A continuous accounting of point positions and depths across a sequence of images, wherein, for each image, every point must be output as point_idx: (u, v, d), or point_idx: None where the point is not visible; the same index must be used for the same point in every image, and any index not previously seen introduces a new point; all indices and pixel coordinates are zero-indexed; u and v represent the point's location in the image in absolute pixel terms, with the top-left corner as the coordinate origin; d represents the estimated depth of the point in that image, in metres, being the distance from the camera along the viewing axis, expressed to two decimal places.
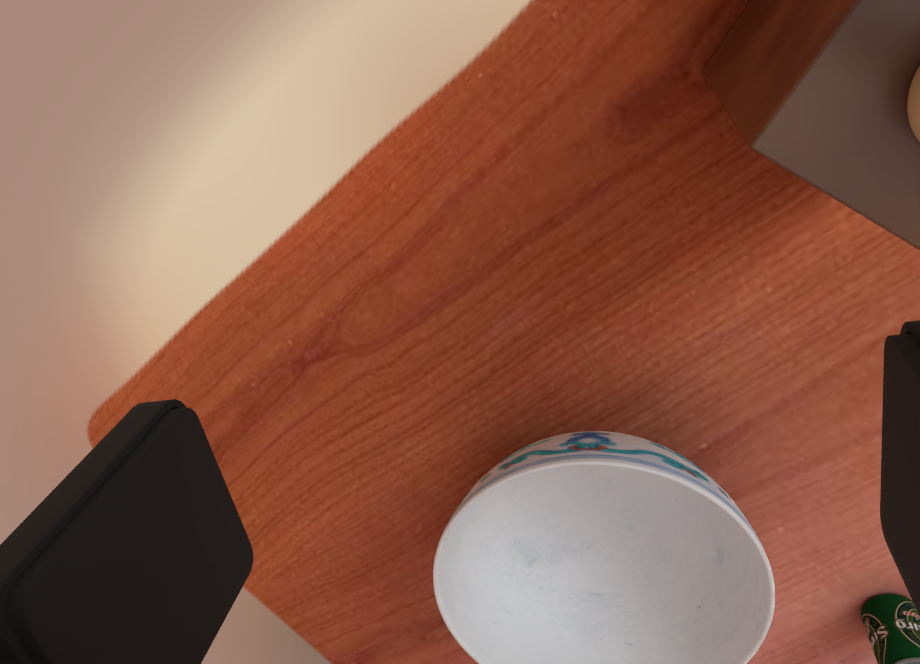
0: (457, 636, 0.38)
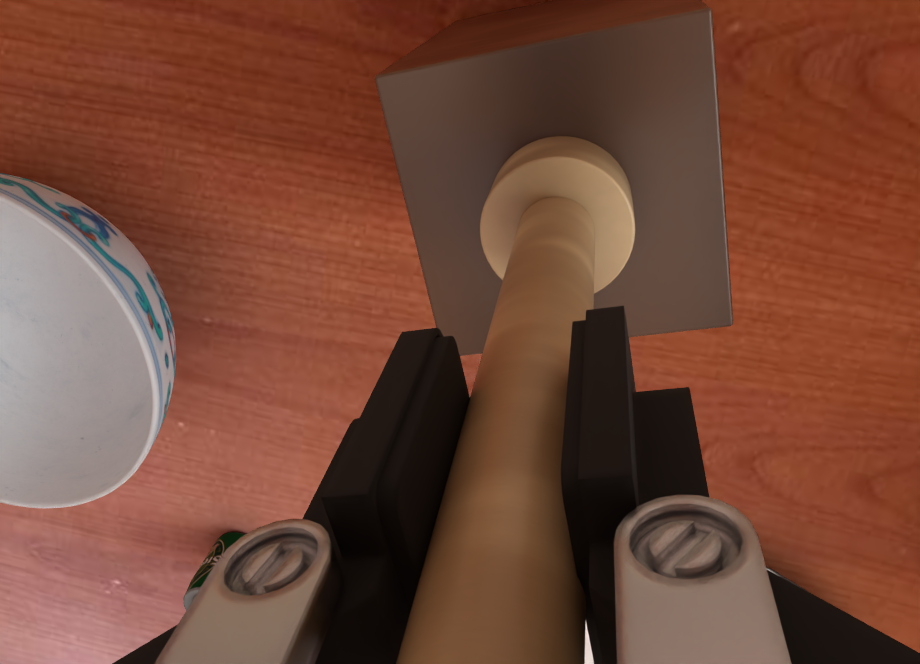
0: None
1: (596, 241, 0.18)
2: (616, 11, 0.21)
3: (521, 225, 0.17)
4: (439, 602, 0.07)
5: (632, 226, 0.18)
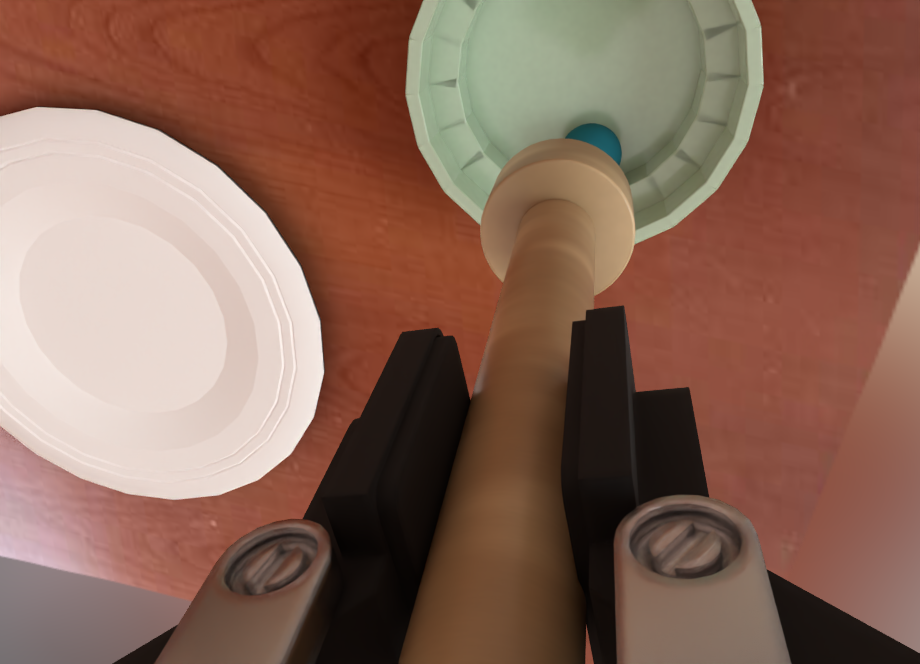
0: None
1: (596, 243, 0.18)
2: None
3: (521, 227, 0.17)
4: (440, 608, 0.07)
5: (632, 228, 0.18)
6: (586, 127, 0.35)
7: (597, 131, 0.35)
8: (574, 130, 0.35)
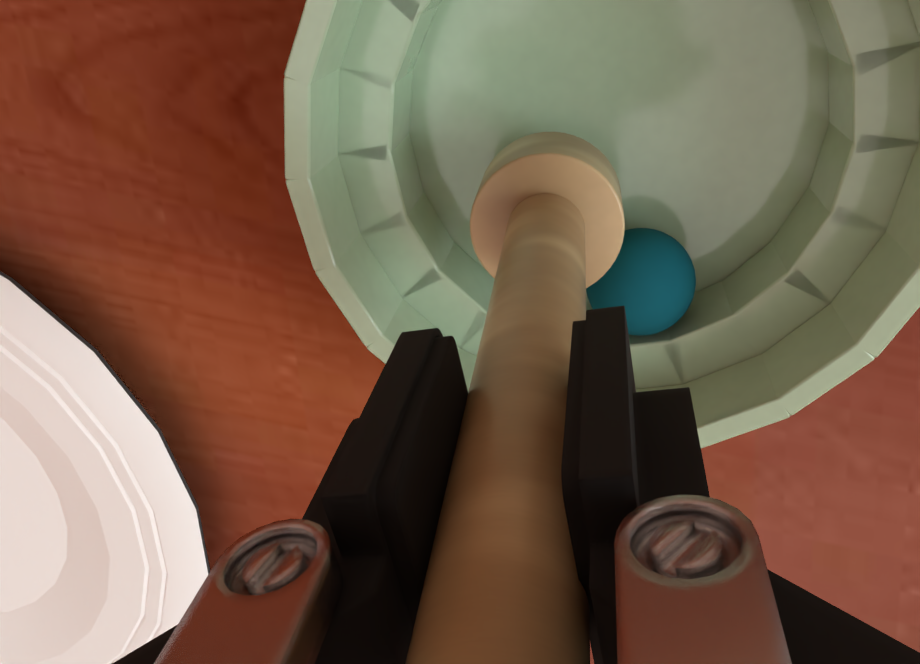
0: None
1: (586, 236, 0.18)
2: None
3: (510, 223, 0.17)
4: (442, 614, 0.07)
5: (621, 219, 0.18)
6: (639, 246, 0.19)
7: (660, 252, 0.19)
8: None
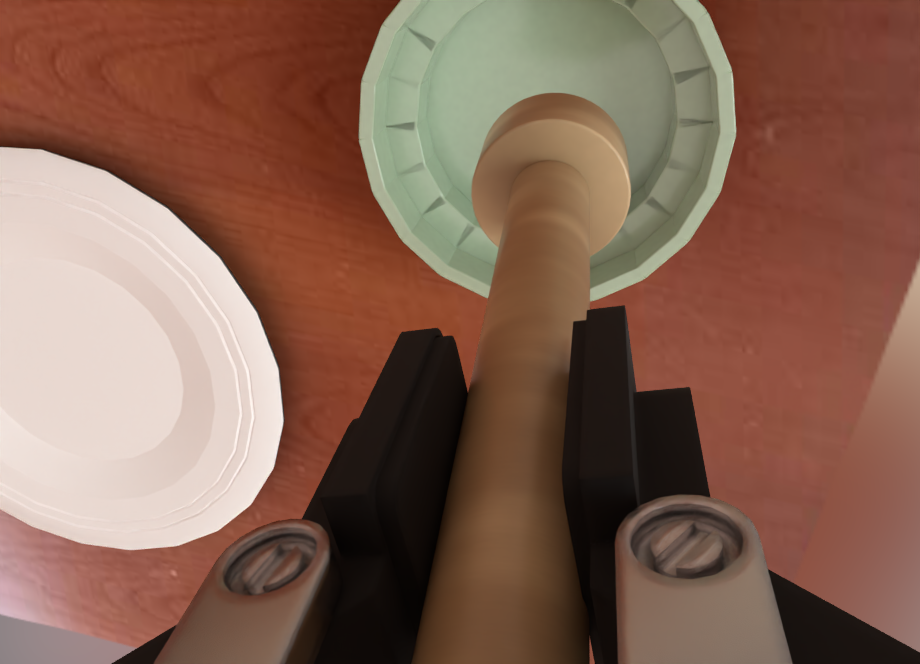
0: None
1: (592, 196, 0.18)
2: None
3: (509, 200, 0.17)
4: (430, 649, 0.08)
5: (625, 172, 0.17)
6: None
7: None
8: None
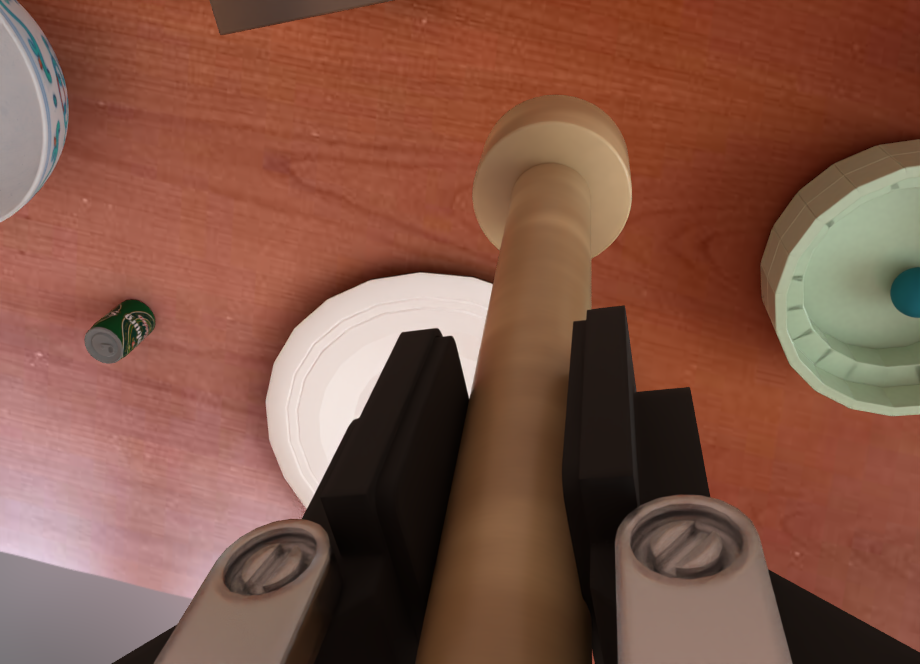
0: None
1: (593, 198, 0.18)
2: None
3: (510, 203, 0.17)
4: (432, 655, 0.08)
5: (626, 175, 0.17)
6: None
7: None
8: None
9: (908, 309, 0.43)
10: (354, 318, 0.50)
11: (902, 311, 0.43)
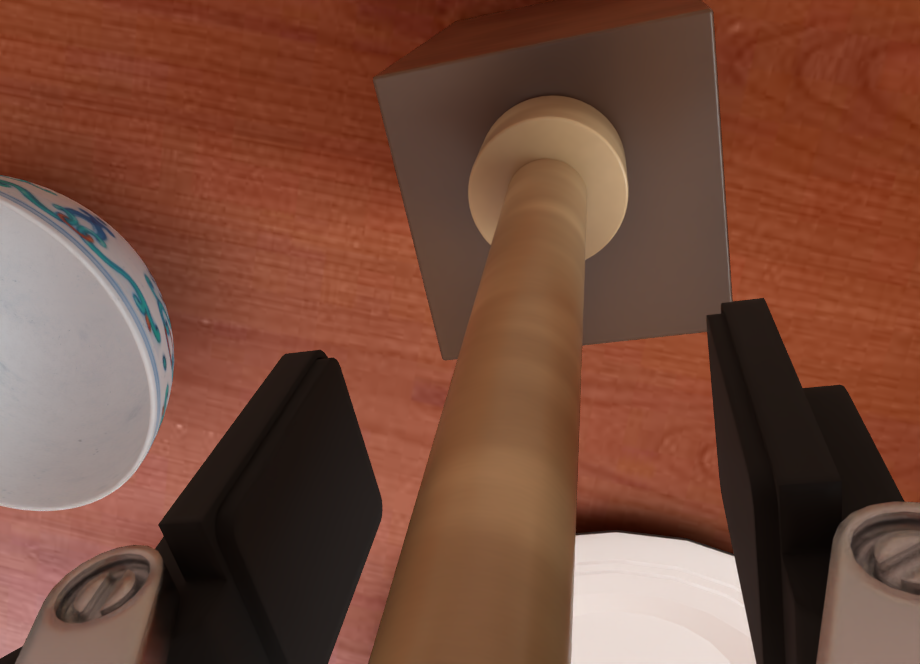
0: None
1: (589, 195, 0.17)
2: (616, 12, 0.21)
3: (505, 196, 0.17)
4: (401, 595, 0.07)
5: (622, 172, 0.17)
6: None
7: None
8: None
9: None
10: None
11: None
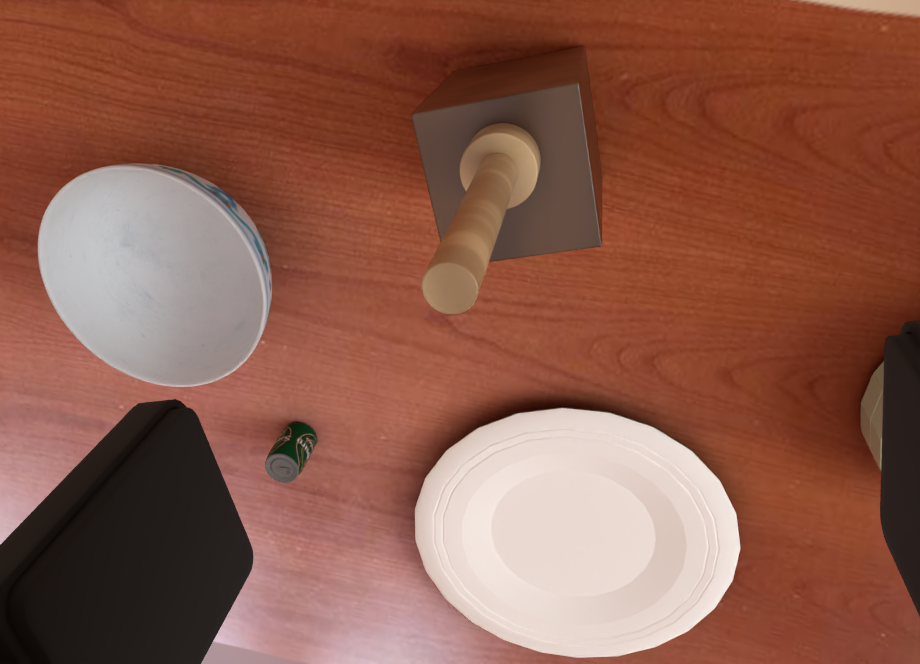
0: (40, 239, 0.49)
1: (518, 171, 0.36)
2: (539, 77, 0.39)
3: None
4: (433, 259, 0.25)
5: (534, 159, 0.35)
6: None
7: None
8: None
9: None
10: (501, 444, 0.58)
11: None
